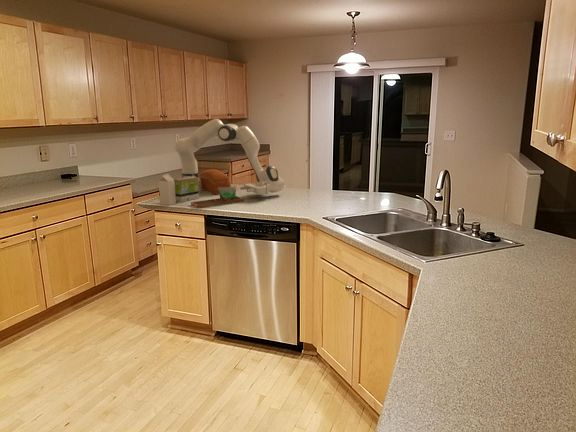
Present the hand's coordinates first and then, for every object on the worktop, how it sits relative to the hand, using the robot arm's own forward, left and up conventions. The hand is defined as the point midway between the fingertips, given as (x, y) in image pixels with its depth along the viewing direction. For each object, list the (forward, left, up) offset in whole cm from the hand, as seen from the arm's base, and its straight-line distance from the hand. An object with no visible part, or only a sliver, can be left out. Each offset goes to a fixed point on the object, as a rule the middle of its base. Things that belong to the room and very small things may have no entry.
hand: (243, 189), depth 280 cm
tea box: (-24, -31, -7) cm, 40 cm away
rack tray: (0, -19, -7) cm, 20 cm away
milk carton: (-18, -45, -7) cm, 49 cm away
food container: (0, -12, -7) cm, 13 cm away
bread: (-42, -3, -7) cm, 43 cm away
